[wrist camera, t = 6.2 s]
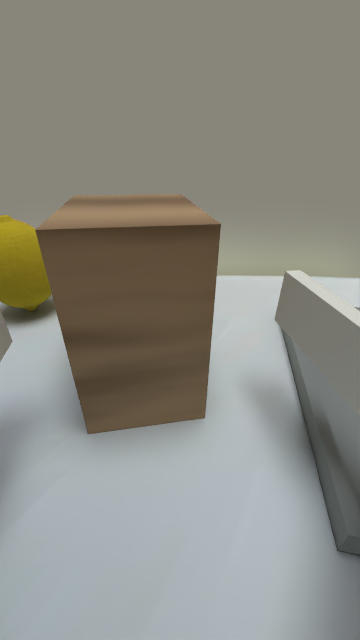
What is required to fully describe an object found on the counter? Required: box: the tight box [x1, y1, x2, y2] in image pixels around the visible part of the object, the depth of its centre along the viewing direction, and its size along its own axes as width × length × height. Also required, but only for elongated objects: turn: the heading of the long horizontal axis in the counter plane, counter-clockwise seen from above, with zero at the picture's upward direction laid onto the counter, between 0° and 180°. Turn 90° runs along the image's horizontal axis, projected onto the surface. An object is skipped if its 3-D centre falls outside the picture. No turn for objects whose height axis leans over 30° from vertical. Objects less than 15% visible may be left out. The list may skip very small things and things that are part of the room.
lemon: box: [0, 215, 52, 311], centre depth 22 cm, size 6×6×8 cm
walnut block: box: [35, 194, 221, 434], centre depth 15 cm, size 8×6×10 cm
